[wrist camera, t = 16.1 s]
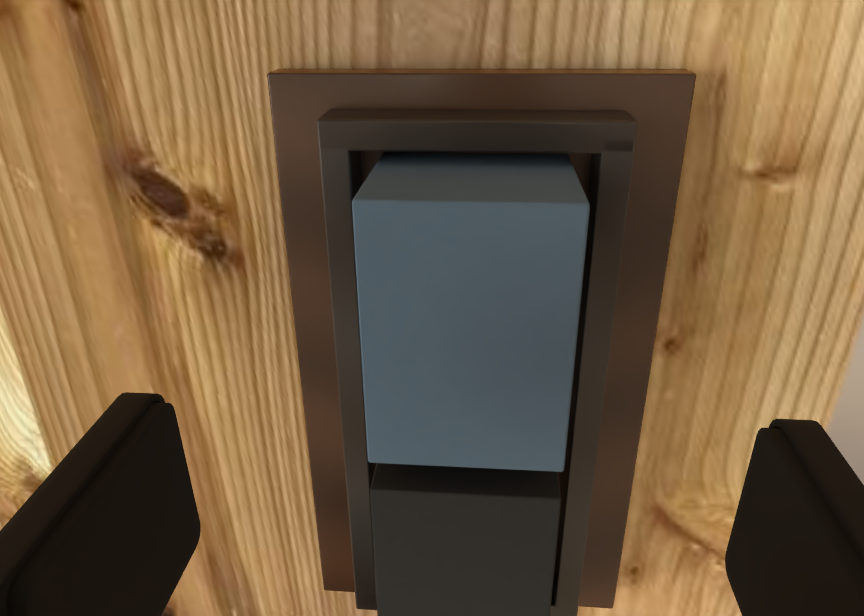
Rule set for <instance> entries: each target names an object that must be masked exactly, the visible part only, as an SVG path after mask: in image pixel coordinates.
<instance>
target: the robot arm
mask: <svg viewBox="0 0 864 616" xmlns="http://www.w3.org/2000/svg"><path fill="white" fill-rule="evenodd" d="M199 537H200V520H199V516H198V511H197V507H196V503H195V498H194V494H193V489H192V485H191V480H190V476H189V471H188V467H187V463H186V458H185V454H184V449H183V445H182V440H181V436H180V431H179V427H178V423H177V418H176V414H175V410H174V407H173V406H172V404H170V403H165V401H164V399H163V397H162V396H161V395H159V394H150V393H122V394H121V395H120V396H118V397H117V399H116V400H115V401H114V402H113V403H112V404H111V405H110V406H109V408H108V409H107V410H106V411H105V412H104V413H103V414H102V416H101V417H100V418H99V419H98V420H97V421H96V422H95V424H94V425H93V426H92V427H91V428H90V429H89V430H88V432H87V433H86V434H85V435H84V436H83V437H82V438H81V440H80V441H79V442H78V443H77V444H76V445H75V446H74V448H73V449H72V450H71V451H70V452H69V453H68V454H67V456H66V457H65V458H64V459H63V460H62V461H61V462H60V463H59V465H58V466H57V467H56V468H55V469H54V470H53V471H52V473H51V474H50V475H49V476H48V477H47V478H46V479H45V481H44V482H43V483H42V484H41V485H40V486H39V487H38V489H37V490H36V491H35V492H34V493H33V494H32V495H31V497H30V498H29V499H28V500H27V501H26V502H25V503H24V505H23V506H22V507H21V508H20V509H19V510H18V511H17V513H16V514H15V515H14V516H13V517H12V518H11V519H10V521H9V522H8V523H7V524H6V525H5V526H4V527H3V528H2V530H1V531H0V616H161V615H162V613H163V611H164V609H165V607H166V605H167V603H168V601H169V599H170V597H171V595H172V593H173V591H174V589H175V588H176V586H177V584H178V582H179V580H180V578H181V576H182V574H183V572H184V570H185V568H186V566H187V564H188V562H189V560H190V558H191V556H192V554H193V553H194V551H195V549H196V546H197V544H198V541H199ZM725 564H726V572H727V576H728V579H729V582H730V585H731V587H732V590H733V592H734V595H735V598H736V600H737V603H738V605H739V608H740V611H741V613H742V616H864V485H863V484H862V483H861V481H860V480H859V478H858V477H857V475H856V474H855V473H854V471H853V470H852V468H851V467H850V466H849V464H848V463H847V461H846V460H845V458H844V457H843V456H842V454H841V453H840V451H839V450H838V449H837V447H836V446H835V444H834V443H833V442H832V440H831V439H830V437H829V436H828V435H827V433H826V432H825V430H824V429H823V428H822V426H821V425H820V424H819V423H818V422H816V421H813V420H791V419H775V420H773V421H772V422H771V424H770V426H769V428H761V429H760V430H759V431H758V433H757V436H756V440H755V444H754V448H753V451H752V455H751V459H750V463H749V467H748V471H747V474H746V478H745V482H744V486H743V490H742V493H741V497H740V501H739V505H738V509H737V512H736V516H735V520H734V524H733V528H732V532H731V535H730V539H729V543H728V547H727V551H726V556H725Z"/></svg>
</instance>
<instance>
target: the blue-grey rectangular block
mask: <svg viewBox="0 0 864 616" xmlns="http://www.w3.org/2000/svg"><path fill="white" fill-rule="evenodd" d="M589 211H590V205H589V202H588V200H587V197H586V195H585V193H584V191H583V188H582V186H581V184H580V181H579V179H578V177H577V174H576V172H575V170H574V167H573V165H572V163H571V161H570V158H569V156H568V155H567V154H479V153H387V152H385V153H383V154H382V156H381V157H380V159H379V160H378V162H377V163H376V165H375V166H374V168H373V169H372V171H371V172H370V174H369V176H368V177H367V179H366V180H365V182H364V183H363V185H362V186H361V188H360V189H359V191H358V192H357V194H356V195H355V197H354V198H353V200H352V214H353V230H354V246H355V262H356V278H357V294H358V310H359V326H360V342H361V358H362V374H363V390H364V406H365V422H366V438H367V454H368V461H369V462H370V463H387V464H408V465H429V466H450V467H471V468H491V469H512V470H533V471H554V472H563V470H564V465H565V455H566V444H567V434H568V424H569V414H570V404H571V394H572V383H573V373H574V363H575V353H576V343H577V333H578V323H579V312H580V302H581V292H582V282H583V272H584V262H585V251H586V241H587V231H588V221H589Z"/></svg>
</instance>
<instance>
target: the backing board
mask: <svg viewBox="0 0 864 616" xmlns="http://www.w3.org/2000/svg"><path fill="white" fill-rule="evenodd" d="M267 77H268V86H269V95H270V104H271V113H272V122H273V131H274V140H275V149H276V159H277V168H278V177H279V186H280V195H281V204H282V213H283V222H284V231H285V240H286V249H287V258H288V267H289V277H290V286H291V295H292V304H293V313H294V322H295V331H296V340H297V349H298V358H299V367H300V376H301V385H302V395H303V404H304V413H305V422H306V431H307V440H308V449H309V458H310V467H311V476H312V485H313V494H314V503H315V512H316V522H317V531H318V540H319V549H320V558H321V567H322V576H323V585H324V590H330V591H346V592H355V598H356V608H357V609H367V610H377V596H376V580H375V564H374V548H373V532H372V516H371V500H370V488H371V484H372V479H373V475H374V471H375V467H376V463H370V462H369V461H368V454H367V438H366V422H365V406H364V390H363V374H362V358H361V342H360V326H359V310H358V294H357V278H356V262H355V246H354V230H353V214H352V200H353V198H354V197H355V195H356V194H357V192H358V191H359V189H360V188H361V186H362V185H363V183H364V182H365V180H366V179H367V177H368V176H369V174H370V172H371V171H372V169H373V168H374V166H375V165H376V163H377V162H378V160H379V159H380V157H381V156H382V154H383V153H385V152H387V153H479V154H567V155H568V156H569V158H570V161H571V163H572V165H573V167H574V170H575V172H576V174H577V177H578V179H579V181H580V184H581V186H582V188H583V191H584V193H585V195H586V197H587V200H588V202H589V205H590V211H589V221H588V231H587V241H586V251H585V262H584V272H583V282H582V292H581V302H580V312H579V323H578V333H577V343H576V353H575V363H574V373H573V383H572V394H571V404H570V414H569V424H568V434H567V444H566V455H565V465H564V470H563V472H558V479H559V487H560V495H561V507H560V517H559V527H558V537H557V547H556V558H555V568H554V578H553V588H552V598H551V608H550V616H577V612H578V606H583V607H599V608H613V605H614V598H615V592H616V586H617V579H618V573H619V566H620V560H621V554H622V547H623V541H624V534H625V528H626V522H627V515H628V509H629V502H630V496H631V490H632V483H633V477H634V470H635V464H636V458H637V451H638V445H639V438H640V432H641V426H642V419H643V413H644V406H645V400H646V394H647V387H648V381H649V374H650V368H651V362H652V355H653V349H654V343H655V336H656V330H657V323H658V317H659V311H660V304H661V298H662V291H663V285H664V279H665V272H666V266H667V259H668V253H669V247H670V240H671V234H672V227H673V221H674V215H675V208H676V202H677V195H678V189H679V183H680V176H681V170H682V163H683V157H684V151H685V144H686V138H687V131H688V125H689V119H690V112H691V106H692V99H693V93H694V87H695V80H696V74H695V73H693V72H690V71H688V70H686V69H277V70H275V71H272V72H270V73H268V74H267Z"/></svg>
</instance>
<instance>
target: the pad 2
mask: <svg viewBox="0 0 864 616" xmlns="http://www.w3.org/2000/svg"><path fill="white" fill-rule="evenodd" d="M370 500H371V516H372V532H373V548H374V564H375V580H376V596H377V612H378V616H550V608H551V598H552V588H553V578H554V568H555V558H556V547H557V537H558V527H559V517H560V507H561V495H560V487H559V479H558V472H554V471H533V470H512V469H491V468H471V467H450V466H429V465H408V464H387V463H376V467H375V471H374V475H373V479H372V484H371V488H370Z"/></svg>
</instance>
